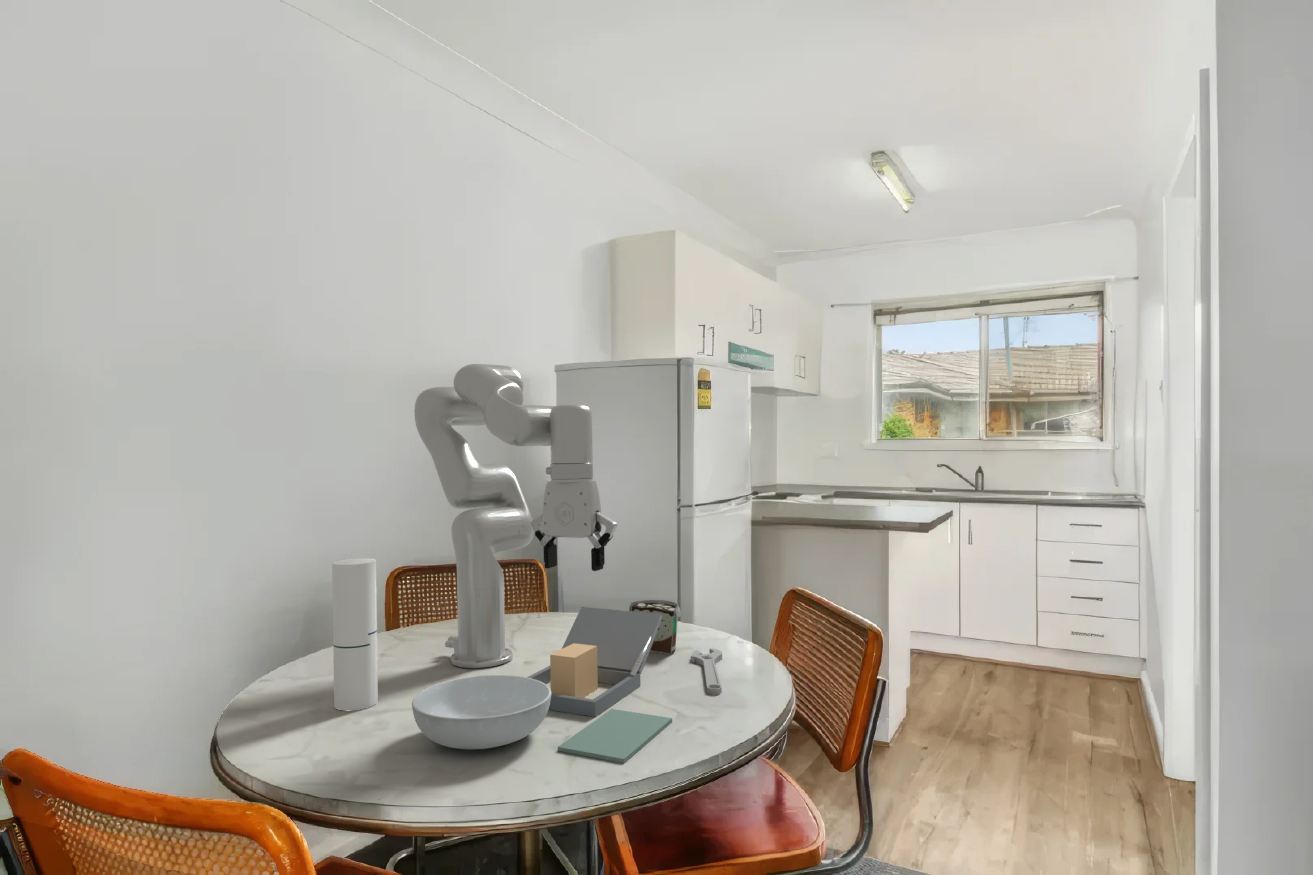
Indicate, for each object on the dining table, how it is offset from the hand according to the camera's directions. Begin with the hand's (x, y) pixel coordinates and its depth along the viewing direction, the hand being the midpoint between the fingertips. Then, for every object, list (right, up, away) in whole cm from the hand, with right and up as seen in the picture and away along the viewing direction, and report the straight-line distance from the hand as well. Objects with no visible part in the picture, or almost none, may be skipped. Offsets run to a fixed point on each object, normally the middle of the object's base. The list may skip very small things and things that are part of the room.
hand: (573, 568), depth 137 cm
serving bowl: (-12, -23, -19) cm, 32 cm away
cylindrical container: (-38, -23, -4) cm, 45 cm away
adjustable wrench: (+25, -23, +12) cm, 36 cm away
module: (0, -23, 0) cm, 23 cm away
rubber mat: (+9, -23, -19) cm, 31 cm away
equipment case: (+2, -23, +5) cm, 23 cm away
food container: (+16, -23, +29) cm, 40 cm away
